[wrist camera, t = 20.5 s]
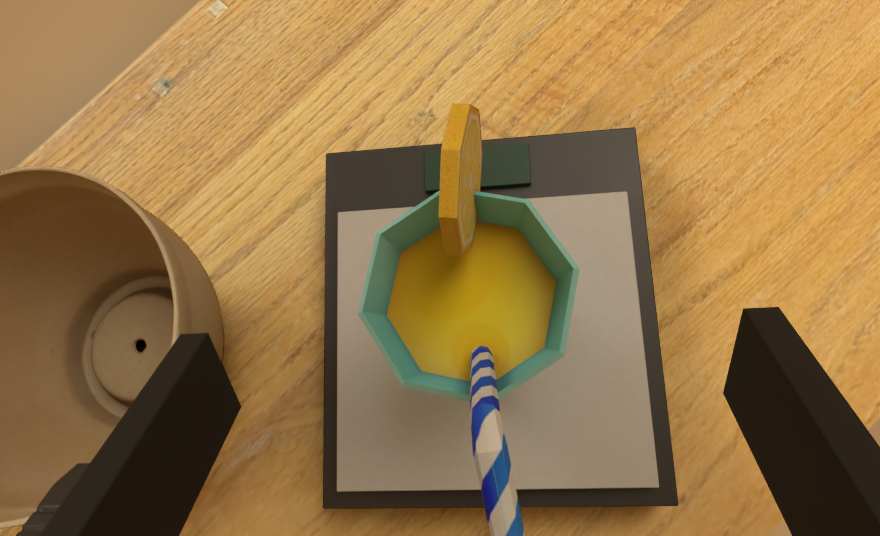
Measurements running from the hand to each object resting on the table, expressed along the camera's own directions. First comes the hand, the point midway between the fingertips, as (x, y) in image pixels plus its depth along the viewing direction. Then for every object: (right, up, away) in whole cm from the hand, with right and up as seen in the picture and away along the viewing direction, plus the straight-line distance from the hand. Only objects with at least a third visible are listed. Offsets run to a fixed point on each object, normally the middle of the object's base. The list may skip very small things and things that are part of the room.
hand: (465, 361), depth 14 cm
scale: (+2, -1, +19) cm, 19 cm away
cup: (+2, -1, +15) cm, 15 cm away
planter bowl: (-19, -3, +21) cm, 29 cm away
